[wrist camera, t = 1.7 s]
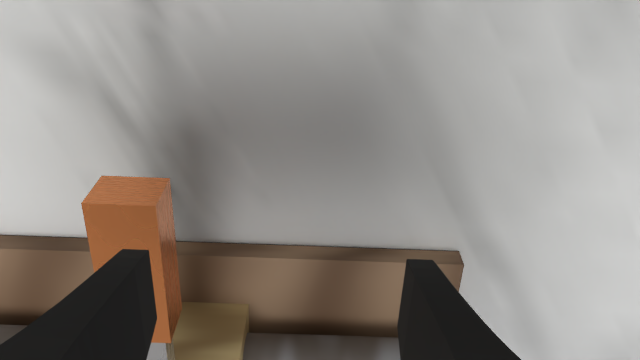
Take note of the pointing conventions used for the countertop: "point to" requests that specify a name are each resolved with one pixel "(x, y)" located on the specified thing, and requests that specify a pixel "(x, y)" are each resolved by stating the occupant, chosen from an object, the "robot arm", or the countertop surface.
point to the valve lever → (139, 242)
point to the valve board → (241, 296)
